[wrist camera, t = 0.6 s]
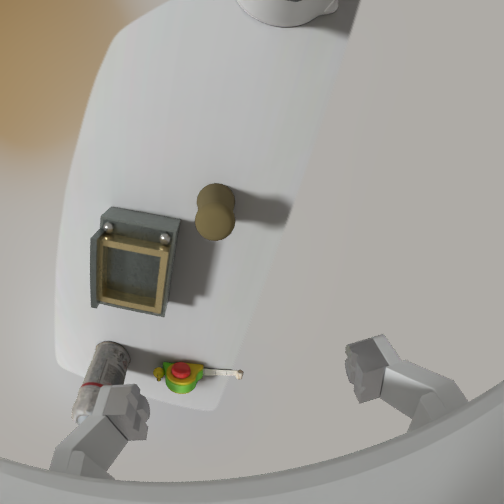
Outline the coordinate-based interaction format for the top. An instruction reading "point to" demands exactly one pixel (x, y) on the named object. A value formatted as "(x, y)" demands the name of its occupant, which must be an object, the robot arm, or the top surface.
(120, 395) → the robot arm
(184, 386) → the toy measuring tape
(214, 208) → the cork
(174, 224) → the grey wooden box
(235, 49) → the top surface
